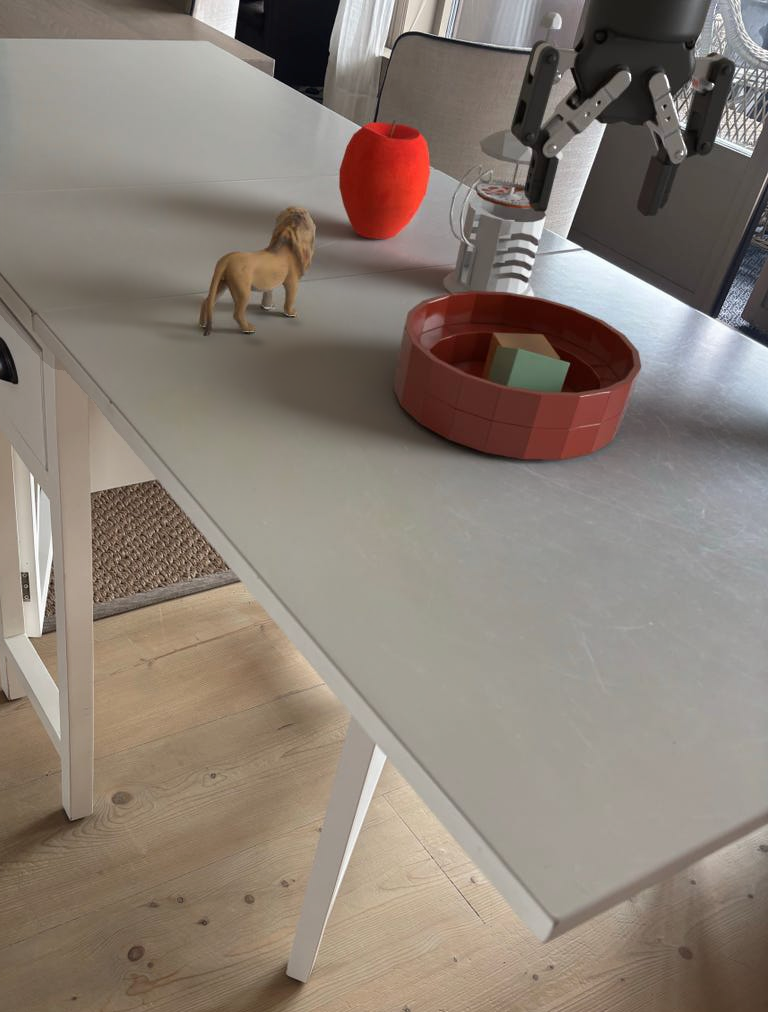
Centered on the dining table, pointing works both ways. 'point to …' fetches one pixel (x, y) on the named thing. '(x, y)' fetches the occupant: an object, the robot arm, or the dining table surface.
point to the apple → (384, 178)
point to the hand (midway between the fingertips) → (591, 210)
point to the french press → (506, 203)
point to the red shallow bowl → (503, 409)
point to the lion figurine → (264, 269)
